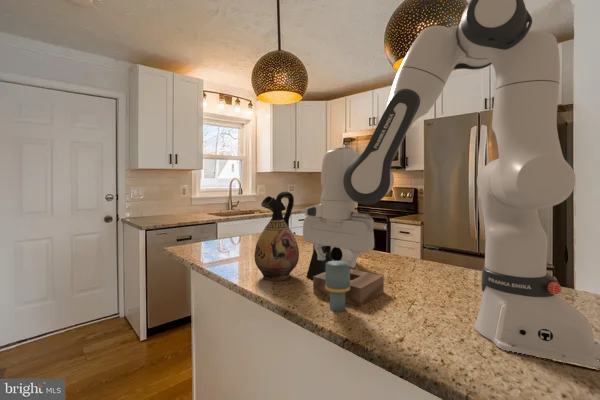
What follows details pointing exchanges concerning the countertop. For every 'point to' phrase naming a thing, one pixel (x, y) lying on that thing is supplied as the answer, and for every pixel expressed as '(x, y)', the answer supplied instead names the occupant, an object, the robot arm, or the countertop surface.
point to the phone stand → (319, 262)
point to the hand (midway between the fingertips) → (335, 263)
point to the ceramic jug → (277, 241)
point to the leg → (337, 283)
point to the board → (354, 287)
